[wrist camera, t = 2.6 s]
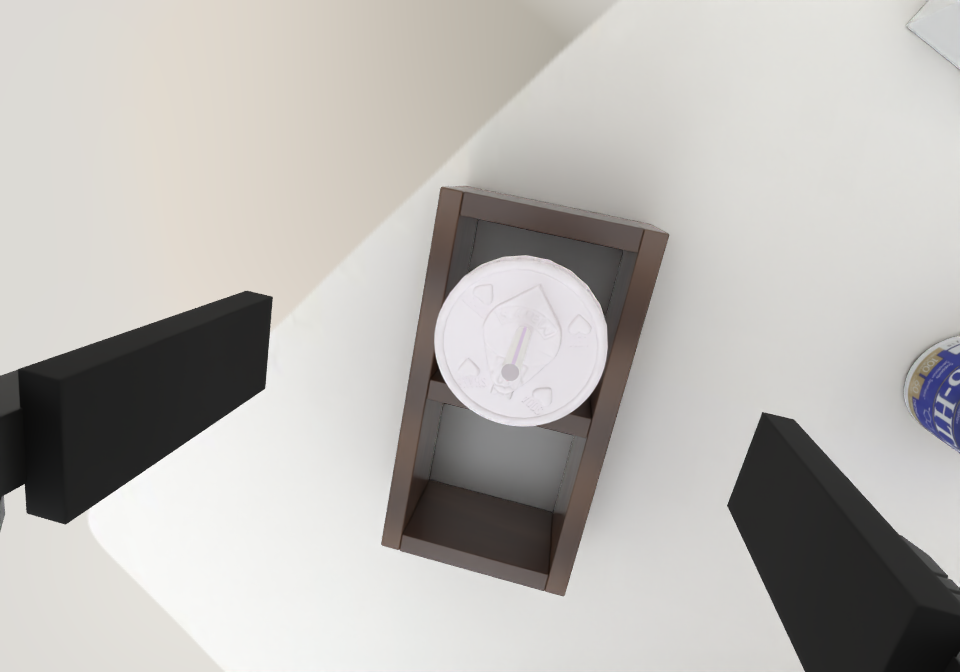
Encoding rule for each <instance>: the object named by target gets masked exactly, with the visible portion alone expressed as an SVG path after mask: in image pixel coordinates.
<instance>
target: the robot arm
mask: <svg viewBox="0 0 960 672" xmlns="http://www.w3.org/2000/svg"><path fill="white" fill-rule="evenodd" d="M272 299H273V297H271V296H267V295H263V294H258V293H254V292H250V291H244V292H242V293H239V294H236V295H233V296H230V297H227V298H224V299H221V300H218V301H215V302H212V303H209V304H207V305H204V306H201V307H198V308H195V309H192V310H189V311H186V312H183V313H180V314H178V315H175V316H172V317H169V318H166V319H163V320H160V321H157V322H154V323H151V324H149V325H146V326H143V327H140V328H137V329H134V330H131V331H128V332H125V333H122V334H119V335H117V336H114V337H111V338H108V339H105V340H102V341H99V342H96V343H93V344H90V345H88V346H85V347H82V348H79V349H76V350H73V351H70V352H67V353H64V354H61V355H58V356H55V357H53V358H50V359H47V360H44V361H41V362H38V363H35V364H32V365H30V366H26V367H24V368H21V369H18V370H16V371H13V372H10V373H7V374H4V375H2V376H0V530H1V526H2V523H3V520H4V516H5V509H4V495H5V494H7V493H9V492H11V491H13V490H14V489H16V488H18V487H20V486H22V485H23V484H25V493H26V510H27V513H28V514H31V515H35V516H38V517H41V518H45V519H48V520H52V521H55V522H59V523H62V524H67V523H69V522H70V521H72V520H73V519H74V518H76V517H77V516H79V515H80V514H82V513H83V512H85V511H86V510H88V509H89V508H91V507H92V506H94V505H95V504H96V503H98V502H99V501H101V500H102V499H104V498H105V497H107V496H108V495H110V494H111V493H113V492H114V491H116V490H117V489H119V488H120V487H121V486H123V485H124V484H126V483H127V482H129V481H130V480H132V479H133V478H135V477H136V476H138V475H139V474H141V473H142V472H143V471H145V470H146V469H148V468H149V467H151V466H152V465H154V464H155V463H157V462H158V461H160V460H161V459H163V458H164V457H165V456H167V455H168V454H170V453H171V452H173V451H174V450H176V449H177V448H179V447H180V446H182V445H183V444H185V443H186V442H187V441H189V440H190V439H192V438H193V437H195V436H196V435H198V434H199V433H201V432H202V431H204V430H205V429H207V428H208V427H209V426H211V425H212V424H214V423H215V422H217V421H218V420H220V419H221V418H223V417H224V416H226V415H227V414H229V413H230V412H231V411H233V410H234V409H236V408H237V407H239V406H240V405H242V404H243V403H245V402H246V401H248V400H249V399H251V398H252V397H253V396H255V395H256V394H258V393H259V392H261V391H262V390H264V389H265V384H266V372H267V360H268V348H269V336H270V323H271V310H272ZM727 506H728V508H729V510H730V512H731V515H732V517H733V519H734V521H735V523H736V525H737V527H738V530H739V532H740V534H741V536H742V538H743V540H744V542H745V544H746V547H747V549H748V551H749V553H750V555H751V557H752V559H753V562H754V564H755V566H756V568H757V570H758V572H759V574H760V576H761V579H762V581H763V583H764V585H765V587H766V589H767V591H768V594H769V596H770V598H771V600H772V602H773V604H774V606H775V609H776V611H777V613H778V615H779V617H780V619H781V621H782V623H783V626H784V628H785V630H786V632H787V634H788V636H789V638H790V641H791V643H792V645H793V647H794V649H795V651H796V653H797V656H798V658H799V660H800V662H801V664H802V666H803V668H804V670H805V672H960V588H959V587H958V586H957V585H956V584H955V583H954V582H953V581H952V580H950V579H948V575H947V574H946V573H945V572H944V571H943V570H942V569H941V568H940V567H939V566H938V565H937V564H936V563H935V562H934V560H933V559H932V558H931V557H930V556H929V555H927V554H926V553H925V552H923V551H922V550H921V549H919V548H918V547H916V546H915V545H914V544H912V543H911V542H910V541H908V540H907V539H906V538H904V537H903V536H901V535H899V534H898V533H897V532H896V531H895V530H894V529H893V528H892V527H891V525H890V524H889V523H888V522H887V521H886V520H885V519H884V518H883V517H882V516H881V514H880V513H879V512H878V511H877V510H876V509H875V508H874V507H873V506H872V505H871V503H870V502H869V501H868V500H867V499H866V498H865V497H864V496H863V495H862V494H861V492H860V491H859V490H858V489H857V488H856V487H855V486H854V485H853V484H852V483H851V482H850V480H849V479H848V478H847V477H846V476H845V475H844V474H843V473H842V472H841V471H840V469H839V468H838V467H837V466H836V465H835V464H834V463H833V462H832V461H831V460H830V458H829V457H828V456H827V455H826V454H825V453H824V452H823V451H822V450H821V449H820V448H819V446H818V445H817V444H816V443H815V442H814V441H813V440H812V439H811V438H810V437H809V435H808V434H807V433H806V432H805V431H804V430H803V429H802V428H801V427H800V426H799V424H798V423H797V422H796V421H795V420H794V419H790V418H785V417H781V416H777V415H773V414H768V413H764V412H762V415H761V418H760V420H759V423H758V426H757V428H756V431H755V434H754V436H753V439H752V441H751V444H750V447H749V449H748V452H747V455H746V457H745V460H744V463H743V465H742V468H741V471H740V473H739V476H738V479H737V481H736V484H735V486H734V489H733V492H732V494H731V497H730V500H729V502H728V505H727Z"/></svg>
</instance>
